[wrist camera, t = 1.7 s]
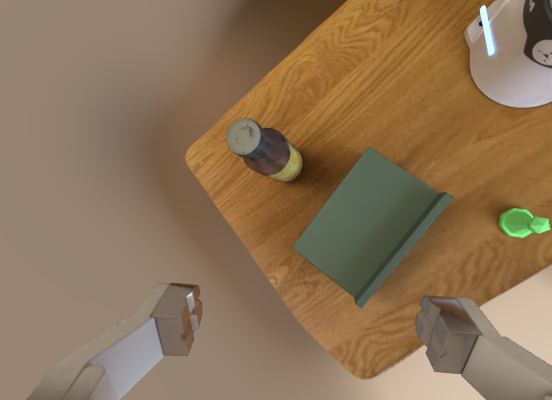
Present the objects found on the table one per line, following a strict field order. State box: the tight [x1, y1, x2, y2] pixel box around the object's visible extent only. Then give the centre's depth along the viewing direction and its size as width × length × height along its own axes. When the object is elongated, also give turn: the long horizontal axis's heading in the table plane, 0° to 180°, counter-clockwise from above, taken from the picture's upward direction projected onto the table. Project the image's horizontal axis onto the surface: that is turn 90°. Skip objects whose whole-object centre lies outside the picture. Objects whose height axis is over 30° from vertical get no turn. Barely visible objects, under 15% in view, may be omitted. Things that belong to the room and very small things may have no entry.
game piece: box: [499, 208, 550, 238], centre depth 38 cm, size 4×4×6 cm
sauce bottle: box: [226, 118, 303, 182], centre depth 39 cm, size 6×6×20 cm
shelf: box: [292, 147, 453, 309], centre depth 41 cm, size 18×12×10 cm, turn 143°
